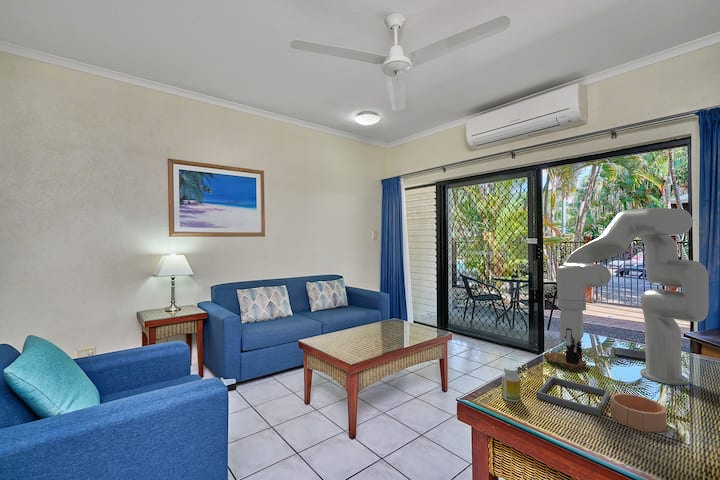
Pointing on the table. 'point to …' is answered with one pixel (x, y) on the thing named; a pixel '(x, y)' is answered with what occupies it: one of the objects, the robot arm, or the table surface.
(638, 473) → the table surface
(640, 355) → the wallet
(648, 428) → the bowl
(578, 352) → the dice
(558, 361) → the decorative rock
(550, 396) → the grey flat square frame
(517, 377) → the supplement bottle
